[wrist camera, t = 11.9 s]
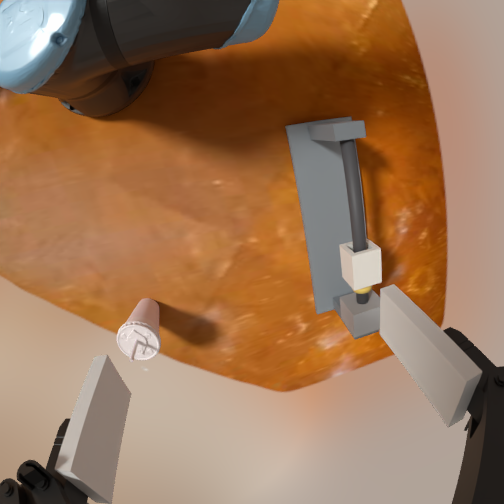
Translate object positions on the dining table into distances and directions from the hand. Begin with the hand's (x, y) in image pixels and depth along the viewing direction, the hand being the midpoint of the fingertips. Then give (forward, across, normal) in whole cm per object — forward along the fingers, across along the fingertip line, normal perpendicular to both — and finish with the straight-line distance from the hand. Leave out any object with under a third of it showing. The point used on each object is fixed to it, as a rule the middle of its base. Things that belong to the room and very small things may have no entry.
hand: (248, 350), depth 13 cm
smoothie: (+33, -16, -14) cm, 39 cm away
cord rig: (+33, +16, -7) cm, 37 cm away
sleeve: (+26, +16, -11) cm, 32 cm away
